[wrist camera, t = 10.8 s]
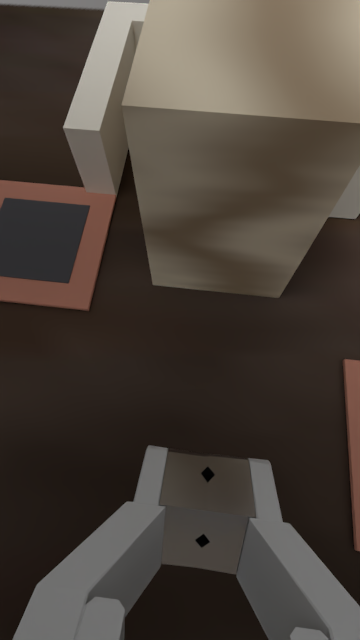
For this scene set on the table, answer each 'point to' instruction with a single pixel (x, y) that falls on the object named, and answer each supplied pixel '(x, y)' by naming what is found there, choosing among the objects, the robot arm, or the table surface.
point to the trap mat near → (353, 438)
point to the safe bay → (106, 112)
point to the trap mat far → (51, 243)
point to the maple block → (241, 135)
